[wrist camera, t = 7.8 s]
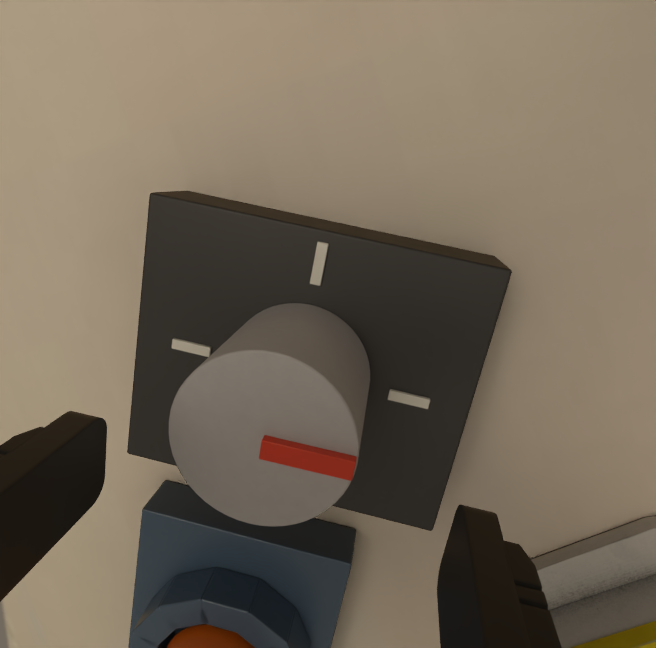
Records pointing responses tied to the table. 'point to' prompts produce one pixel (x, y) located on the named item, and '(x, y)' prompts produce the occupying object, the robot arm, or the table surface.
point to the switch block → (236, 575)
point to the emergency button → (604, 588)
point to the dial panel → (338, 298)
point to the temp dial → (274, 417)
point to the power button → (208, 638)
